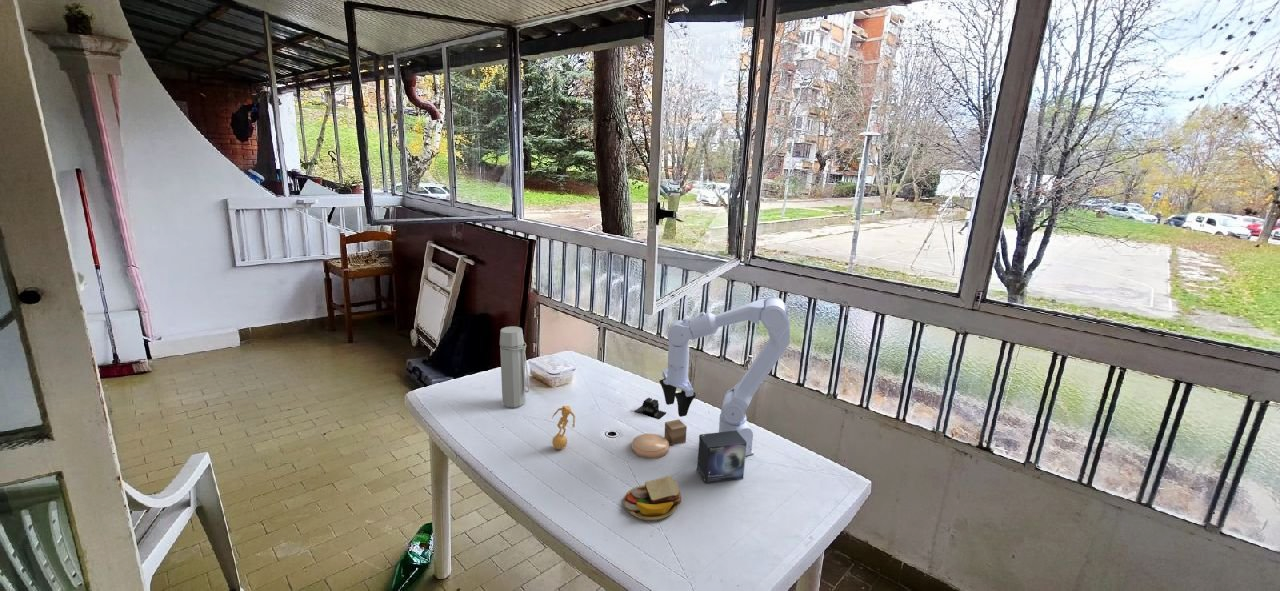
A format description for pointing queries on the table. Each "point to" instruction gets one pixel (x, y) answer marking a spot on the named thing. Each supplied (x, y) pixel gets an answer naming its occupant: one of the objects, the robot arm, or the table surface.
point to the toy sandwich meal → (653, 499)
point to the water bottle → (513, 366)
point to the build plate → (650, 409)
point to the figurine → (560, 439)
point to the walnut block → (675, 432)
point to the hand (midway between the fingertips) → (676, 409)
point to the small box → (721, 456)
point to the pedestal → (650, 446)
